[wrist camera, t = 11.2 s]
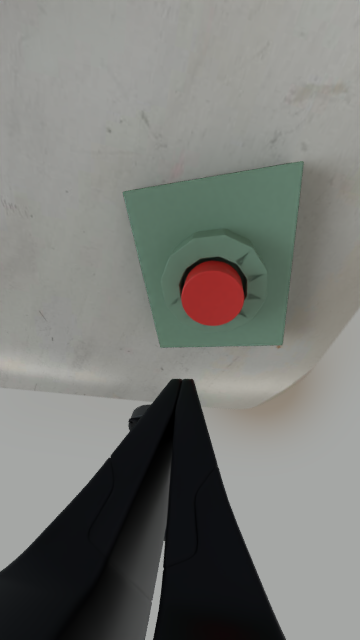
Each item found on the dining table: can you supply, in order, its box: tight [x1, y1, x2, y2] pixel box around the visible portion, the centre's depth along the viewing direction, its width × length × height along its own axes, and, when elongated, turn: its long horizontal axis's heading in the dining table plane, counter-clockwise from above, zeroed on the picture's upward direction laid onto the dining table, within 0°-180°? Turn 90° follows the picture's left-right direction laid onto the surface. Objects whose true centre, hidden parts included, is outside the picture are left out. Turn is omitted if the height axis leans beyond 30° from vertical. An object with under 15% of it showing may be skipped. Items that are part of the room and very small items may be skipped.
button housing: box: [123, 161, 304, 348], centre depth 16 cm, size 12×10×4 cm
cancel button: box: [181, 261, 244, 326], centre depth 14 cm, size 4×4×2 cm
